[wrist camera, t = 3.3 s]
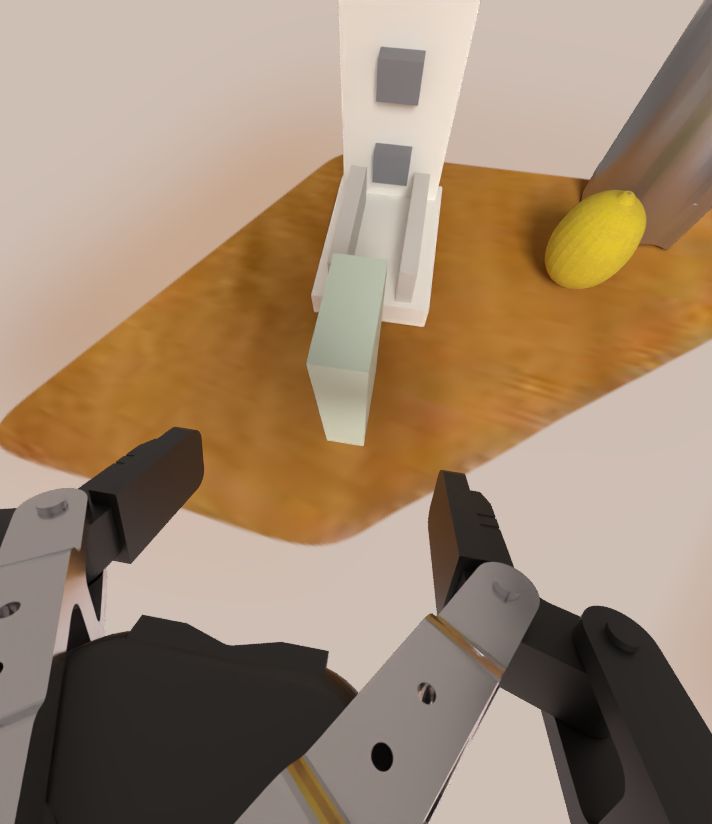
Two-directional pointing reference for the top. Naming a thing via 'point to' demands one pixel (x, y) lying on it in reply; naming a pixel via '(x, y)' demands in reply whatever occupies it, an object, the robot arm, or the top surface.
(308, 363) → the pale green slab
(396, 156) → the white tall l-shaped piece
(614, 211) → the lemon
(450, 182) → the top surface
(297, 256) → the top surface
